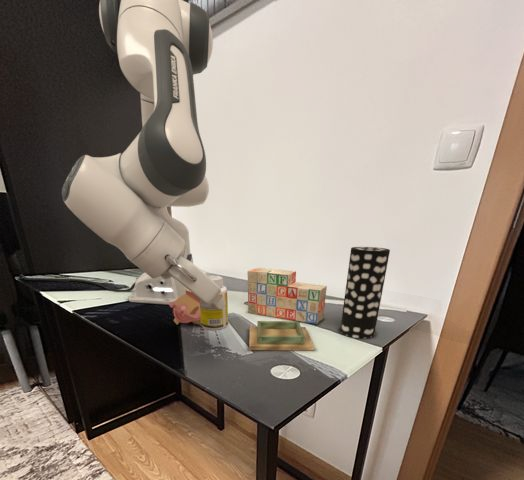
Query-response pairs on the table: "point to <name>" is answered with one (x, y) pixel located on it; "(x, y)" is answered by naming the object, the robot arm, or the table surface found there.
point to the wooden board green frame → (279, 336)
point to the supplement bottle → (215, 310)
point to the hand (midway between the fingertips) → (216, 301)
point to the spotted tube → (363, 291)
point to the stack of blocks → (284, 296)
